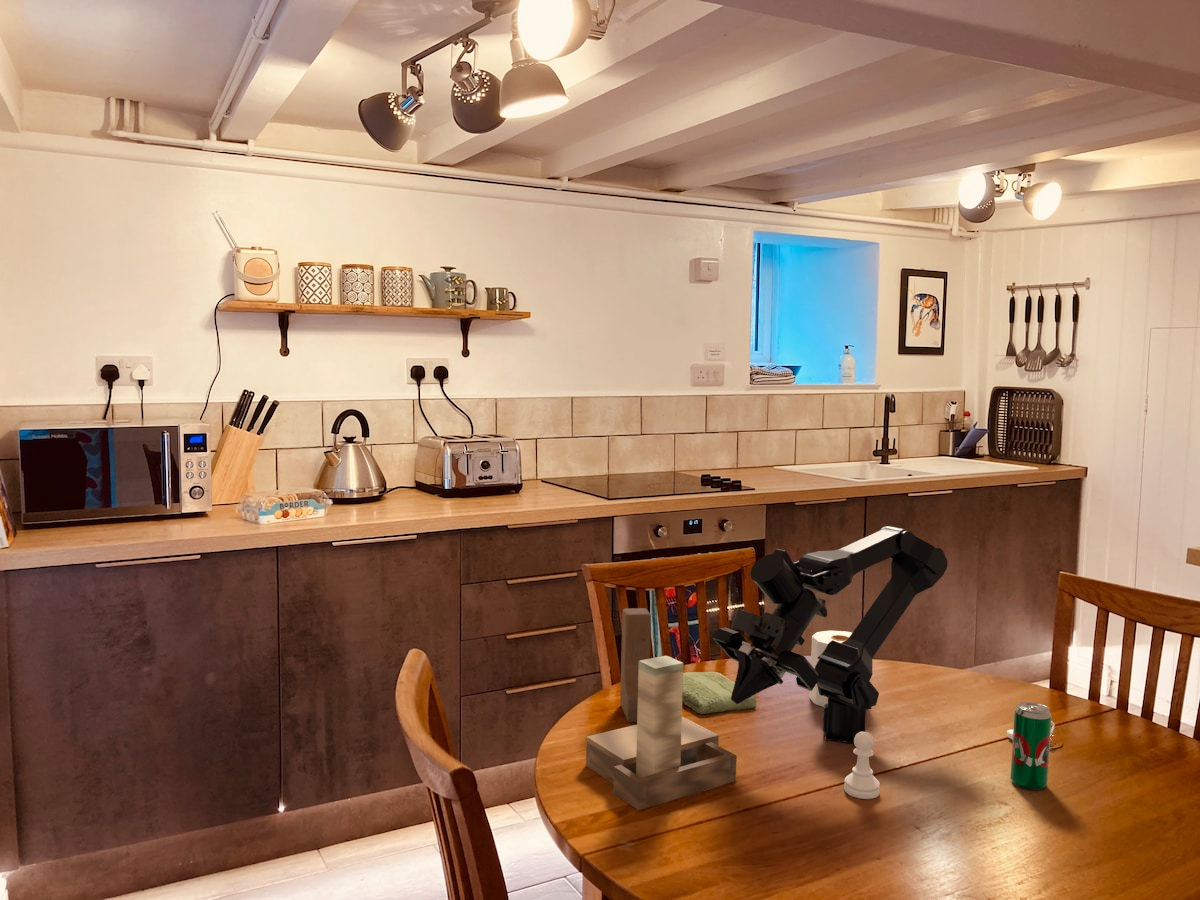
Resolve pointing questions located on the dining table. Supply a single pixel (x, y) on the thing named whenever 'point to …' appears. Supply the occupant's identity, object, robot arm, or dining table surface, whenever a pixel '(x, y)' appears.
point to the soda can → (1031, 746)
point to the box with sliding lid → (696, 773)
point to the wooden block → (633, 656)
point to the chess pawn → (862, 770)
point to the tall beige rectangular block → (659, 715)
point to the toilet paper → (818, 647)
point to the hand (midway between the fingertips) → (733, 701)
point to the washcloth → (711, 693)
